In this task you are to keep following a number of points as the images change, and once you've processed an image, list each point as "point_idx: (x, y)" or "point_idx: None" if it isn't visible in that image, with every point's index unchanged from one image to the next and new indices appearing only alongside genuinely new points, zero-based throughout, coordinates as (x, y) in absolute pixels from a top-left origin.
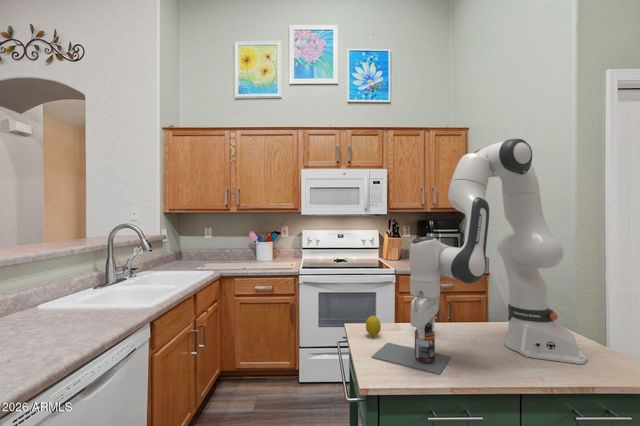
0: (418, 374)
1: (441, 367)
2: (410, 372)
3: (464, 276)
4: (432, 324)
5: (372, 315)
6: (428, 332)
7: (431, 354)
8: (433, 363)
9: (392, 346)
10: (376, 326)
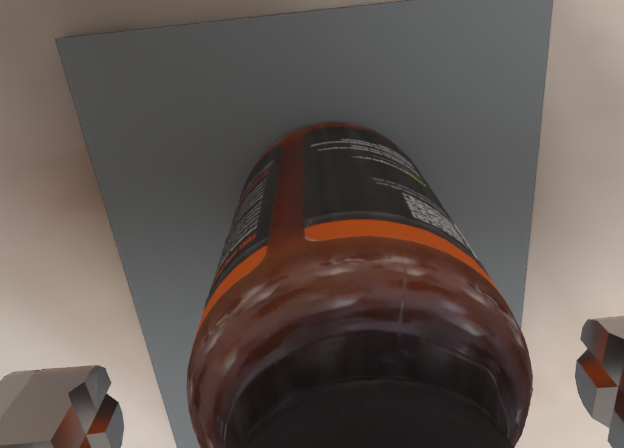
0: (620, 155)
1: (402, 21)
2: (610, 219)
3: None
4: (11, 438)
5: None
6: (466, 348)
7: (397, 156)
8: (358, 119)
9: None
10: None
